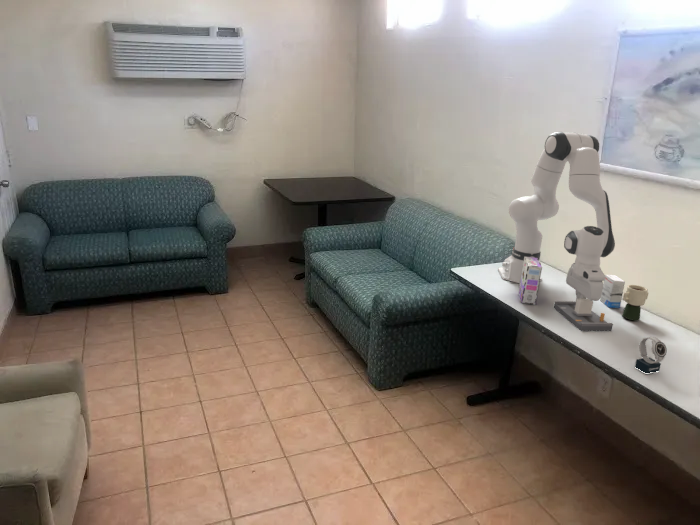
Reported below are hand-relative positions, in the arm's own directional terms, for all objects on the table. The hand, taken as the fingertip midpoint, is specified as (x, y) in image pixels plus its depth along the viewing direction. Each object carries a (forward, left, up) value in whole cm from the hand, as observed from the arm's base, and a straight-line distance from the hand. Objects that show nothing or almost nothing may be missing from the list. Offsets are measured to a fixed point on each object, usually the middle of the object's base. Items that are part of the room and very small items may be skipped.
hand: (579, 303), depth 214 cm
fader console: (+3, 0, -5) cm, 6 cm away
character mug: (+2, +21, -6) cm, 22 cm away
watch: (+43, +1, -6) cm, 44 cm away
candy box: (-18, -13, -6) cm, 23 cm away
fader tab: (+4, 0, -3) cm, 5 cm away
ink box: (-13, +21, -6) cm, 25 cm away
